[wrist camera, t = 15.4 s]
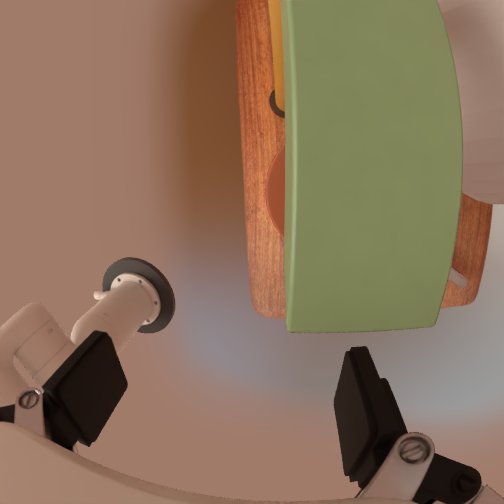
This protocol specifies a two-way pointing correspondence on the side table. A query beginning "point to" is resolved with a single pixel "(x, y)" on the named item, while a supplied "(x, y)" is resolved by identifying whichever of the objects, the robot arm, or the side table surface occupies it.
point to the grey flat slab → (457, 278)
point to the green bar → (369, 164)
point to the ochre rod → (277, 58)
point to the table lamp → (479, 92)
